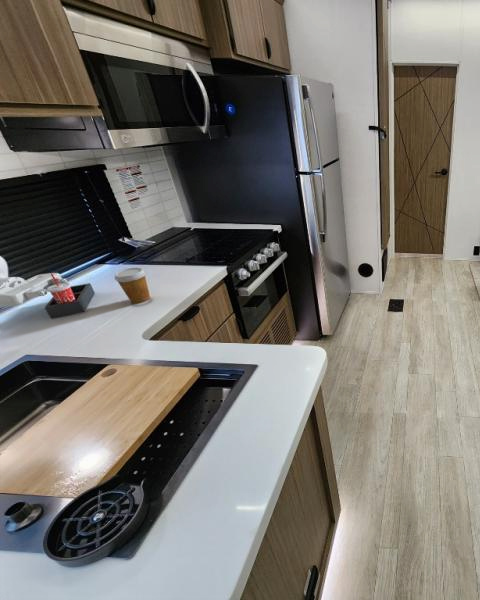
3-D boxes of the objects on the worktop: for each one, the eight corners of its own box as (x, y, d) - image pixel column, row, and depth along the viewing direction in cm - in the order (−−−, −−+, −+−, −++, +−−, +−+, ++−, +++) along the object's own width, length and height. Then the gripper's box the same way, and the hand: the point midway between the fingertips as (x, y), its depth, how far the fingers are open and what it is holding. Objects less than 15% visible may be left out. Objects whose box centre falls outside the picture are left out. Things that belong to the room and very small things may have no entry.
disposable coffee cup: (152, 292, 137) (141, 265, 131) (157, 299, 131) (146, 271, 125) (124, 299, 131) (111, 272, 125) (128, 308, 125) (115, 279, 119)
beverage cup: (84, 302, 128) (66, 269, 121) (75, 310, 122) (56, 276, 116) (65, 305, 126) (46, 271, 119) (55, 313, 121) (35, 278, 114)
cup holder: (51, 318, 119) (44, 307, 117) (65, 298, 133) (59, 288, 130) (84, 312, 123) (78, 301, 121) (95, 293, 137) (90, 283, 135)
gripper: (41, 285, 129) (80, 282, 130) (-9, 310, 111) (36, 307, 112) (32, 270, 126) (72, 267, 127) (-21, 294, 108) (26, 291, 109)
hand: (55, 286), depth 119 cm, fingers open, 8 cm apart
